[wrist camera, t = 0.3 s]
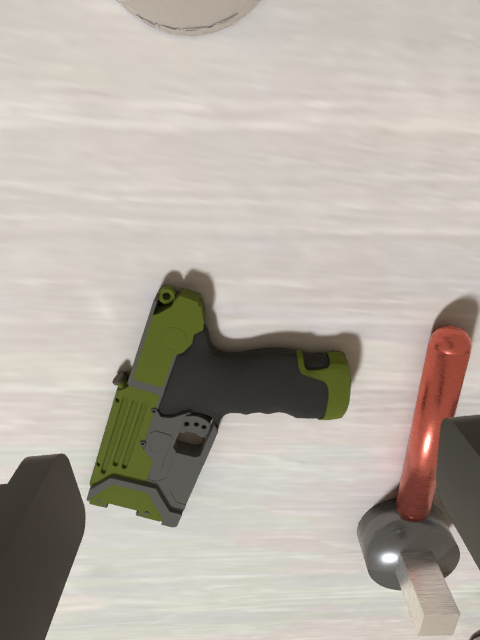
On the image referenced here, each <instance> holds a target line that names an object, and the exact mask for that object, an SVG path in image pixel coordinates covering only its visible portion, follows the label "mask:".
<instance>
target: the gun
mask: <svg viewBox="0 0 480 640" xmlns="http://www.w3.org/2000/svg"><path fill="white" fill-rule="evenodd" d="M164 293H169V294H170V297H166V296H165V295H164ZM175 296H176V297H175ZM158 300H160V301H161V302H162V303H164V305H161V306H158V307H157V303H158ZM204 322H205V309H204V303H203V299H202V298H200V294H198V293H195V292H192V291H190V290H187V289H184V288H182V289H181V290H180V291H179V292H178V293H177V294H176V291H175V289H174V288H173V287H172V286H169V285H165V286H163V287H162V288H161V289H160V291H159V293H157V295H156V297H155V299H154V301H153V304H152V307H151V310H150V314H149V317H148V320H147V323H146V326H145V329H144V332H143V335H142V339H141V342H140V345H139V348H138V351H137V354H136V357H135V360H134V364H133V367H132V370H131V373H130V376H129V379H127V378H126V377H125V373H124V372H121V373H119V374H118V375H117V376H116V377H115V378H114V380H113V384H114V385H117V386H118V388H117V391H116V394H115V398H114V401H113V405H112V408H111V412H110V415H109V418H108V422H107V425H106V429H105V432H104V436H103V439H102V442H101V446H100V449H99V453H98V456H97V460H96V463H95V466H94V470H93V473H92V477H91V480H90V486H91V487H90V490H89V493H88V496H87V501H89V500H90V501H89V503H90V504H92V505H96V506H101V507H105V508H107V507H108V504H113V505H117V506H121V507H125V508H129V509H133V510H137V512H136V515H137V516H141V517H144V518H148V519H152V520H156V521H162V525H165V526H169V527H176V526H177V525H178V522H179V520H180V518H181V516H182V512H183V510H184V508H185V506H186V503H187V501H188V499H189V497H190V494H191V492H192V490H193V487H194V485H195V483H196V481H197V478H198V476H199V474H200V472H201V469H202V467H203V465H204V463H205V461H206V458H207V456H208V454H209V451H210V449H211V447H212V445H213V442H214V440H215V438H216V435H217V433H218V426H219V422H220V419H221V417H222V416H224V415H226V414H228V413H242V414H246V415H247V414H251V413H258V412H260V413H265V414H271V413H276V412H282V413H287V414H289V415H291V416H294V417H295V418H316V419H318V420H332V419H338V418H342V417H343V415H344V414H345V412H346V410H347V408H348V405H349V399H350V387H351V379H350V371H349V367H348V363H347V360H346V357H345V355H344V353H342V352H334V351H333V352H326V353H325V354H323V353H315V354H310V353H305V352H302V350H296V351H295V350H292V349H283V348H266V349H257V350H252V351H247V352H240V353H225V352H221V351H218V350H217V349H215V348H214V347H213V346H212V344H211V341H210V338H209V333H208V329H207V326H206V325H205V324H204ZM324 368H325V369H324ZM207 415H208V416H211V417H212V418H213V421H212V423H211V422H210V418H209V417H208V416H207ZM210 423H211V425H210ZM185 432H189V433H191V432H193V433H194V434H198V436H199V437H200V436H201V437H203V438H204V437H205V439H204V441H203V443H202V445H198V446H194V445H190V444H186V443H183V442H178V440H177V436H178V434H179V433H182V434H183V433H185Z"/></svg>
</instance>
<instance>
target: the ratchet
mask: <svg viewBox="0 0 480 640" xmlns="http://www.w3.org/2000/svg"><path fill="white" fill-rule="evenodd" d="M471 348H472V343H471V339H470V337H469V335H468V334H467V333H466V332H465V331H464V330H463V329H461V328H459V327H456V326H444V327H441V328H439V329H437V330H436V331H435V332H434V333H433V334H432V335H431V337H430V340H429V344H428V349H427V353H426V358H425V363H424V368H423V373H422V378H421V383H420V388H419V393H418V398H417V402H416V407H415V412H414V417H413V422H412V427H411V432H410V437H409V442H408V446H407V451H406V456H405V461H404V466H403V471H402V476H401V481H400V486H399V490H398V495H397V498H396V499H392V500H388V501H385V502H383V503H380V504H378V505H377V506H375V507H373V508H372V509H370V510H369V511H368V512H367V513H366V514H365V515H364V516H363V517H362V519H361V521H360V522H359V525H358V529H357V535H358V539H359V542H360V546H361V549H362V552H363V556H364V559H365V563H366V566H367V569H368V572H369V575H370V576H371V578H372V579H373V580H374V581H375V582H376V583H378V584H379V585H381V586H383V587H386V588H389V589H394V590H402V592H403V595H404V598H405V601H406V603H407V606H408V609H409V612H410V615H411V618H412V620H413V623H414V626H415V629H416V632H417V635H418V636H433V635H453V633H454V630H455V628H456V625H457V622H458V619H459V616H460V612H459V610H458V608H457V605H456V603H455V601H454V599H453V597H452V594H451V592H450V590H449V588H448V586H447V583H446V581H445V579H444V578H446V577H447V576H448V575H449V574H450V573H451V572H452V571H453V570H454V569H455V567H456V566H457V564H458V562H459V558H460V551H459V548H458V546H457V544H456V542H455V540H454V538H453V536H452V534H451V532H450V530H449V528H448V526H447V524H446V522H445V520H444V518H443V517H442V515H441V513H440V511H439V510H438V508H437V507H436V506H435V505H433V504H432V501H433V497H434V493H435V490H436V486H437V484H436V467H437V457H438V446H439V436H440V427H441V422H442V420H443V419H444V418H451V417H454V415H455V411H456V408H457V404H458V400H459V396H460V392H461V388H462V384H463V380H464V376H465V372H466V369H467V365H468V361H469V357H470V353H471Z"/></svg>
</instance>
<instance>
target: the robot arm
mask: <svg viewBox="0 0 480 640" xmlns="http://www.w3.org/2000/svg"><path fill="white" fill-rule="evenodd" d="M118 1H119V2H120V3H121V4H122V5H123V6H124V7H125V8H126V9H127V10H128V11H129V12H130V13H131V14H133V15H134V16H136V17H137V18H139V19H140V20H142V21H144V22H145V23H147V24H148V25H150V26H152V27H155V28H157V29H160V30H163V31H166V32H168V33H171V34H180V35H189V36H194V35H201V34H209V33H214V32H216V31H218V30H221V29H223V28H226V27H228V26H231V25H233V24H234V23H235V22H237V21H238V20H240V19H241V18H242V17H244V16H245V15H246V14H248V13H249V12H250V11H251V10H252V9H253V8H254V7H255V6H256V5H257V4H258V2H259V1H260V0H118ZM436 484H437V489H438V493H439V496H440V499H441V502H442V504H443V506H444V508H445V510H446V511H447V513H448V515H449V517H450V518H451V520H452V522H453V524H454V525H455V527H456V529H457V531H458V533H459V534H460V536H461V538H462V540H463V541H464V543H465V545H466V547H467V548H468V550H469V552H470V554H471V555H472V557H473V559H474V561H475V563H476V564H477V566H478V568H479V570H480V415H472V416H461V417H451V418H444V419H443V420H442V422H441V427H440V436H439V446H438V457H437V467H436ZM84 529H85V507H84V504H83V501H82V498H81V495H80V492H79V489H78V486H77V483H76V480H75V477H74V474H73V471H72V468H71V465H70V462H69V459H68V457H67V456H66V455H65V454H52V455H42V456H31V457H27V458H25V459H24V460H23V461H22V462H21V464H20V465H19V467H18V468H17V470H16V471H15V473H14V474H13V476H12V478H11V479H10V481H9V482H8V484H1V485H0V640H45V638H46V635H47V632H48V629H49V627H50V624H51V621H52V619H53V616H54V613H55V611H56V608H57V605H58V602H59V600H60V597H61V594H62V592H63V589H64V586H65V583H66V581H67V578H68V575H69V573H70V570H71V567H72V565H73V562H74V559H75V556H76V554H77V551H78V548H79V546H80V543H81V540H82V537H83V534H84Z"/></svg>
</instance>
